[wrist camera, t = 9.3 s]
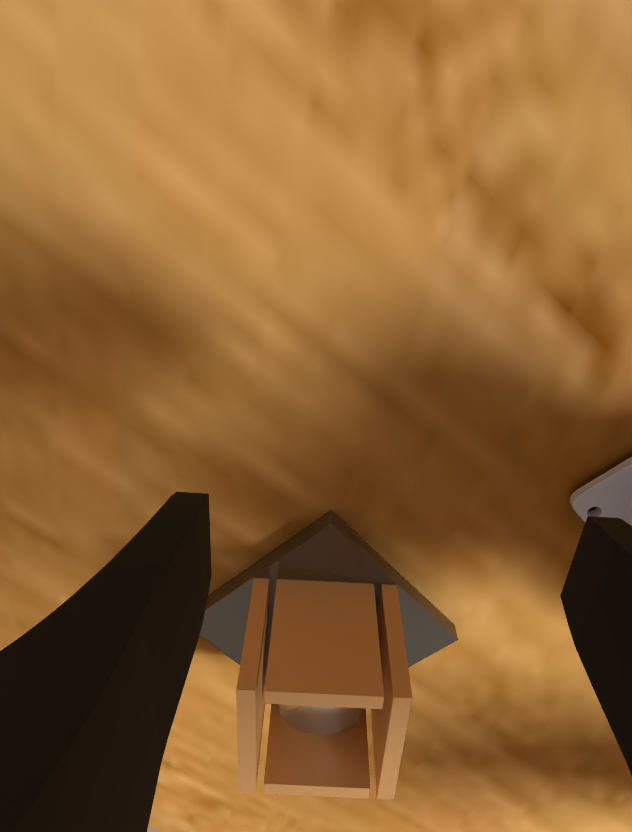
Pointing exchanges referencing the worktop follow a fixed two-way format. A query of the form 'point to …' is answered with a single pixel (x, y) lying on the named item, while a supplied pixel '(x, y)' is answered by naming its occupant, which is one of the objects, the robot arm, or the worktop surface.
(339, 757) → the brown hollow box
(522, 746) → the worktop surface
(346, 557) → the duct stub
